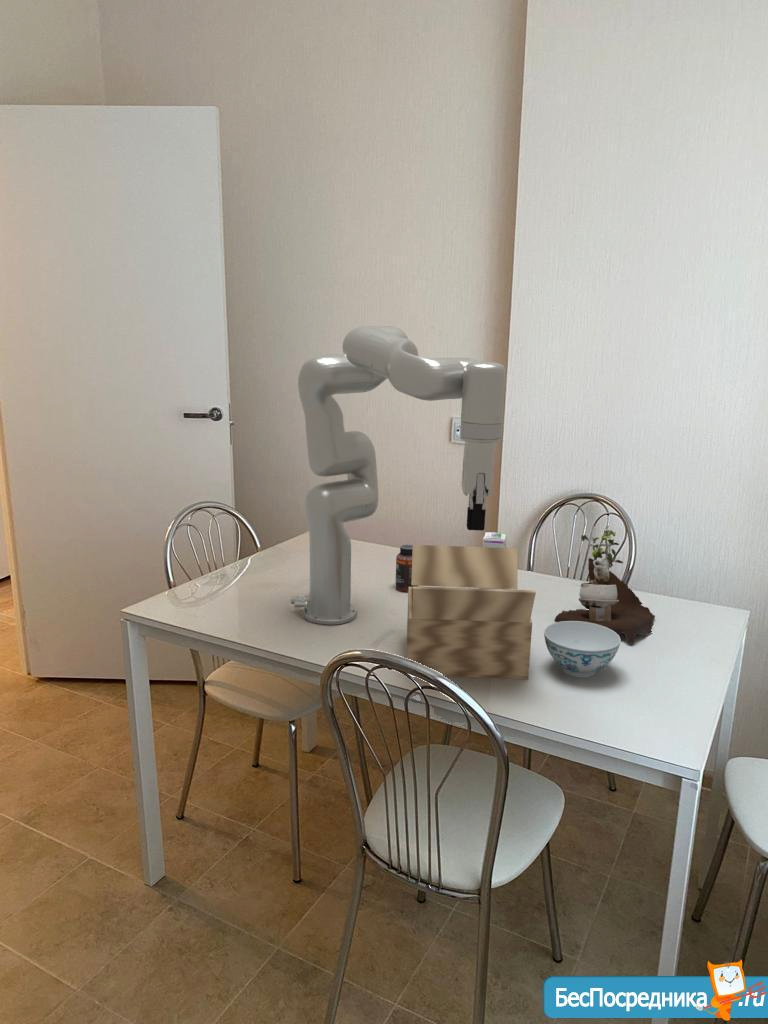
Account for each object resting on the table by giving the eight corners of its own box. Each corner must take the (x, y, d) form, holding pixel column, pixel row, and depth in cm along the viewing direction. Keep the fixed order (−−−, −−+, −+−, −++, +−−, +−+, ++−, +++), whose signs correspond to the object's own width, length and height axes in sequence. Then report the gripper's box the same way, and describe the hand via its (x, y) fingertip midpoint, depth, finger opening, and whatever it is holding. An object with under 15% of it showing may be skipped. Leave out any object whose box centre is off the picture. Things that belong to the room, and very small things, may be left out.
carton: (406, 674, 164) (408, 618, 161) (406, 638, 181) (408, 586, 178) (527, 679, 163) (532, 622, 160) (516, 642, 181) (520, 590, 178)
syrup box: (502, 593, 210) (506, 539, 207) (479, 591, 212) (482, 537, 208) (504, 586, 216) (507, 533, 212) (481, 584, 217) (484, 531, 213)
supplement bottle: (422, 587, 213) (424, 545, 210) (411, 594, 208) (412, 551, 205) (402, 583, 216) (404, 541, 213) (390, 589, 211) (392, 547, 208)
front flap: (411, 616, 161) (411, 618, 160) (413, 586, 155) (413, 588, 154) (529, 620, 160) (529, 622, 160) (535, 590, 154) (535, 592, 154)
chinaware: (570, 692, 158) (573, 655, 156) (527, 660, 172) (529, 626, 170) (632, 680, 164) (636, 644, 162) (586, 650, 178) (589, 617, 176)
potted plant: (552, 636, 191) (554, 528, 192) (584, 632, 206) (586, 531, 208) (637, 644, 179) (639, 529, 181) (664, 639, 194) (666, 532, 196)
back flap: (412, 544, 180) (412, 545, 180) (411, 585, 178) (411, 585, 179) (517, 548, 180) (517, 548, 180) (517, 588, 178) (517, 589, 178)
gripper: (458, 424, 157) (453, 517, 161) (462, 437, 142) (457, 539, 147) (497, 425, 156) (491, 519, 161) (506, 439, 142) (499, 541, 147)
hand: (475, 528), depth 154 cm, fingers closed
